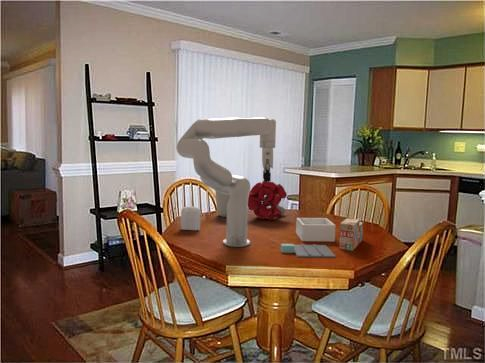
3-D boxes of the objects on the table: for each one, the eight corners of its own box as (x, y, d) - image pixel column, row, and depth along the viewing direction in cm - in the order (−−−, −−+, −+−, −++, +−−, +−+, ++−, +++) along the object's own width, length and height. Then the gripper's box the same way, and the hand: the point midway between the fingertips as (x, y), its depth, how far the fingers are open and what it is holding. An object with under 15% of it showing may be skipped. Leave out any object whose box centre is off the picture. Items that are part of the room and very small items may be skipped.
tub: (334, 241, 198) (335, 225, 197) (302, 241, 197) (302, 224, 196) (325, 233, 214) (326, 218, 213) (295, 232, 213) (296, 217, 212)
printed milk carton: (349, 238, 204) (351, 214, 203) (362, 240, 201) (363, 216, 200) (338, 249, 185) (340, 222, 184) (352, 251, 183) (354, 224, 181)
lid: (284, 257, 171) (284, 250, 171) (278, 246, 187) (278, 239, 187) (335, 257, 173) (336, 250, 172) (325, 246, 189) (325, 240, 189)
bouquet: (261, 223, 262) (235, 205, 241) (276, 190, 267) (251, 170, 246) (288, 232, 248) (262, 213, 227) (303, 197, 253) (279, 176, 232)
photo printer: (200, 229, 216) (201, 206, 214) (199, 231, 212) (199, 207, 210) (181, 228, 217) (182, 205, 215) (179, 230, 213) (179, 206, 211)
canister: (213, 212, 260) (214, 179, 257) (242, 212, 261) (243, 180, 258) (213, 218, 242) (214, 183, 239) (244, 219, 243) (245, 184, 240)
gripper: (276, 145, 188) (275, 182, 190) (274, 144, 205) (273, 177, 207) (260, 145, 188) (259, 182, 190) (259, 143, 205) (258, 177, 207)
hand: (266, 179), depth 198 cm, fingers open, 9 cm apart
